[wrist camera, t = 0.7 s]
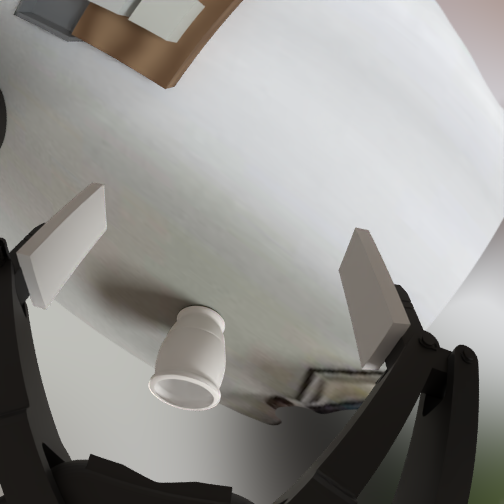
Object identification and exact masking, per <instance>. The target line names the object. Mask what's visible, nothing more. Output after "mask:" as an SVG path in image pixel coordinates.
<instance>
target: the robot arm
mask: <svg viewBox="0 0 504 504" xmlns="http://www.w3.org/2000/svg"><path fill="white" fill-rule="evenodd" d="M5 132H6V107H5V102H4V98H3V95H2V92H1V90H0V148H1V146H2V143H3V140H4V137H5ZM106 230H107V224H106V210H105V191H104V184H100V183H91V184H90V185H89V186H87V187H86V188H85V189H84V190H83V191H81V192H80V193H79V194H78V195H77V196H75V197H74V198H73V199H72V200H71V201H70V202H69V203H67V204H66V205H65V206H64V207H63V208H62V209H61V210H60V211H58V212H57V213H56V214H55V215H54V216H53V217H52V218H51V219H50V220H49V221H48V222H46V223H43V224H41V225H39V226H37V227H35V228H34V229H33V230H32V231H31V232H30V233H29V235H27V236H26V237H25V238H24V239H23V240H22V241H21V242H20V243H19V244H18V245H17V246H16V247H15V248H14V249H13V250H12V251H11V252H10V253H9V251H8V247H7V243H6V240H5V239H4V238H0V484H1V487H2V490H3V493H4V495H3V496H1V497H0V504H254V503H253V502H251V501H249V500H248V499H246V498H244V497H242V496H239V495H237V494H234V493H232V487H228V486H220V485H213V484H206V483H200V482H178V483H158V482H154V481H152V480H150V479H148V478H146V477H144V476H142V475H141V474H139V473H137V472H135V471H133V470H131V469H130V468H128V467H126V466H124V465H122V464H119V463H116V462H113V461H110V460H106V459H104V458H101V457H98V456H95V455H92V454H90V457H89V460H73V461H72V460H71V458H70V456H69V455H68V453H67V451H66V449H65V448H64V446H63V444H62V442H61V440H60V438H59V435H58V432H57V429H56V426H55V424H54V420H53V417H52V414H51V411H50V408H49V405H48V401H47V398H46V394H45V391H44V387H43V384H42V380H41V375H40V371H39V367H38V363H37V358H36V354H35V349H34V344H33V339H32V333H31V327H30V321H29V314H28V308H27V304H26V302H25V301H26V299H27V298H28V297H29V295H30V298H31V300H32V303H33V305H34V306H36V307H39V308H42V309H46V310H47V308H48V307H49V305H50V304H51V302H52V301H53V300H54V298H55V297H56V295H57V294H58V292H59V291H60V290H61V288H62V287H63V285H64V284H65V283H66V281H67V280H68V278H69V277H70V276H71V274H72V273H73V272H74V270H75V269H76V268H77V266H78V265H79V264H80V262H81V261H82V260H83V258H84V257H85V256H86V255H87V253H88V252H89V251H90V249H91V248H92V247H93V246H94V244H95V243H96V242H97V241H98V239H99V238H100V237H101V236H102V235H103V233H104V232H105V231H106ZM339 273H340V277H341V281H342V285H343V288H344V292H345V296H346V300H347V304H348V308H349V313H350V317H351V321H352V325H353V330H354V334H355V338H356V343H357V347H358V352H359V357H360V362H361V366H362V369H369V370H379V368H380V367H381V366H382V364H383V363H384V362H385V363H386V366H387V369H386V371H385V372H384V373H383V375H382V376H381V377H380V378H379V379H378V381H377V382H376V383H375V384H376V385H375V386H374V388H373V389H372V391H371V392H370V394H369V395H368V396H367V398H366V399H365V401H364V402H363V403H362V405H361V406H360V407H359V409H358V410H357V412H356V413H355V414H354V416H353V417H352V418H351V419H350V420H349V422H348V423H347V424H346V426H345V427H344V428H343V429H342V431H341V432H340V433H339V434H338V435H337V437H336V438H335V439H334V440H333V441H332V443H331V444H330V445H329V446H328V447H327V449H326V450H325V451H324V452H323V453H322V454H321V455H320V457H319V458H318V459H317V460H316V461H315V462H314V463H313V464H312V465H311V467H310V468H309V469H308V470H307V471H306V472H305V473H304V474H303V475H302V476H301V477H300V478H299V479H298V481H296V482H295V484H294V485H292V486H291V487H290V488H289V490H287V491H286V492H285V493H284V494H283V495H282V496H280V497H279V498H278V499H277V500H276V501H275V502H274V503H273V504H357V497H358V495H359V494H360V492H361V491H362V490H363V488H364V487H365V486H366V484H367V483H368V481H369V480H370V478H371V477H372V475H373V474H374V473H375V471H376V470H377V468H378V467H379V465H380V464H381V462H382V460H383V459H384V457H385V456H386V454H387V453H388V451H389V449H390V448H391V446H392V444H393V443H394V441H395V439H396V438H397V436H398V434H399V433H400V431H401V429H402V427H403V426H404V424H405V422H406V420H407V418H408V416H409V415H410V413H411V411H412V409H413V407H414V405H415V403H416V401H417V399H418V397H419V395H420V393H421V395H420V400H419V406H418V411H417V416H416V421H415V425H414V429H413V434H412V438H411V442H410V446H409V450H408V454H407V458H406V461H405V464H404V468H403V471H402V474H401V478H400V481H399V484H398V487H397V490H396V493H395V496H394V499H393V502H392V504H468V499H469V494H470V488H471V483H472V476H473V470H474V462H475V453H476V444H477V432H478V431H477V430H478V412H479V369H478V359H477V356H476V354H475V353H474V351H472V349H470V348H469V347H467V346H464V345H458V346H457V347H456V348H455V349H454V350H453V352H451V351H448V350H446V349H443V348H440V346H439V343H438V341H437V339H436V338H435V337H434V336H433V335H432V334H431V333H429V332H427V331H424V330H423V328H422V326H421V323H420V321H419V319H418V316H417V314H416V312H415V310H414V307H413V305H412V303H411V300H410V298H409V296H408V294H407V292H406V291H405V290H404V289H403V288H402V287H401V286H400V285H396V284H394V283H393V281H392V279H391V277H390V274H389V272H388V270H387V268H386V266H385V263H384V261H383V259H382V257H381V255H380V253H379V251H378V249H377V246H376V244H375V242H374V240H373V238H372V236H371V234H370V232H369V230H364V229H360V228H355V230H354V232H353V235H352V238H351V240H350V243H349V246H348V248H347V251H346V253H345V256H344V258H343V261H342V263H341V266H340V268H339Z"/></svg>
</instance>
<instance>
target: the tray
mask: <svg viewBox="0 0 504 504" xmlns="http://www.w3.org/2000/svg"><path fill="white" fill-rule="evenodd" d="M89 3H90V1H88V0H21V1H20V3H19V5H18V7H17V9H16V11H15V13H14V15H16V16H18V17H20V18H22V19H24V20H26V21H28V22H30V23H32V24H35V25H37V26H39V27H41V28H43V29H45V30H47V31H48V32H50V33H52V34H54V35H56V36H58V37H60V38H62V39H64V40H66V41H83V40H81V39H79V38H77V37H75V36H73V35H72V32H73V30H74V29H75V27H76V25H77V23H78V22H79V20H80V18H81V16H82V15H83V13H84V11H85V10H86V8H87V7H88V5H89Z"/></svg>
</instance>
